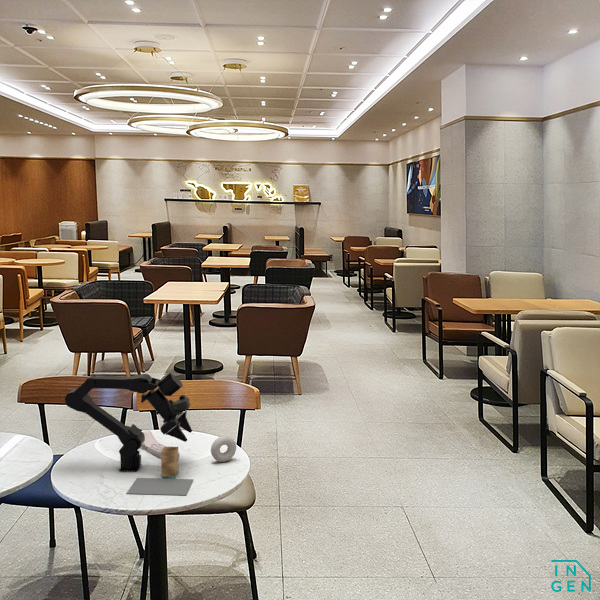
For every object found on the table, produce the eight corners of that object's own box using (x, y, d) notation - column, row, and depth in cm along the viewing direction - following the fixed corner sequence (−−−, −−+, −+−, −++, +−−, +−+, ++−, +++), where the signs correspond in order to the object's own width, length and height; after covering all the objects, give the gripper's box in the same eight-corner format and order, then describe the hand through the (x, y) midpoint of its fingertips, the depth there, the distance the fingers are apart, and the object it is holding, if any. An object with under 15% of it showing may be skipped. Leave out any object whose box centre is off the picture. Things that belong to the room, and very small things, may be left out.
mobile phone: (149, 429, 269) (183, 445, 251) (149, 443, 270) (184, 460, 252) (135, 433, 265) (169, 449, 247) (136, 447, 266) (170, 464, 248)
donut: (212, 465, 247) (212, 439, 246) (209, 462, 251) (209, 436, 249) (237, 461, 252) (237, 435, 251) (234, 457, 255) (234, 432, 254)
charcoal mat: (126, 494, 221) (126, 493, 221) (137, 478, 234) (137, 477, 234) (186, 495, 221) (186, 494, 221) (193, 480, 234) (193, 479, 234)
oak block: (161, 478, 235) (161, 451, 233) (164, 473, 239) (164, 446, 238) (175, 479, 234) (175, 451, 233) (178, 473, 239) (178, 446, 238)
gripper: (172, 398, 230) (201, 432, 232) (183, 383, 248) (209, 414, 250) (148, 417, 231) (177, 451, 233) (160, 401, 250) (187, 432, 251)
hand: (188, 436), depth 242 cm, fingers open, 9 cm apart
